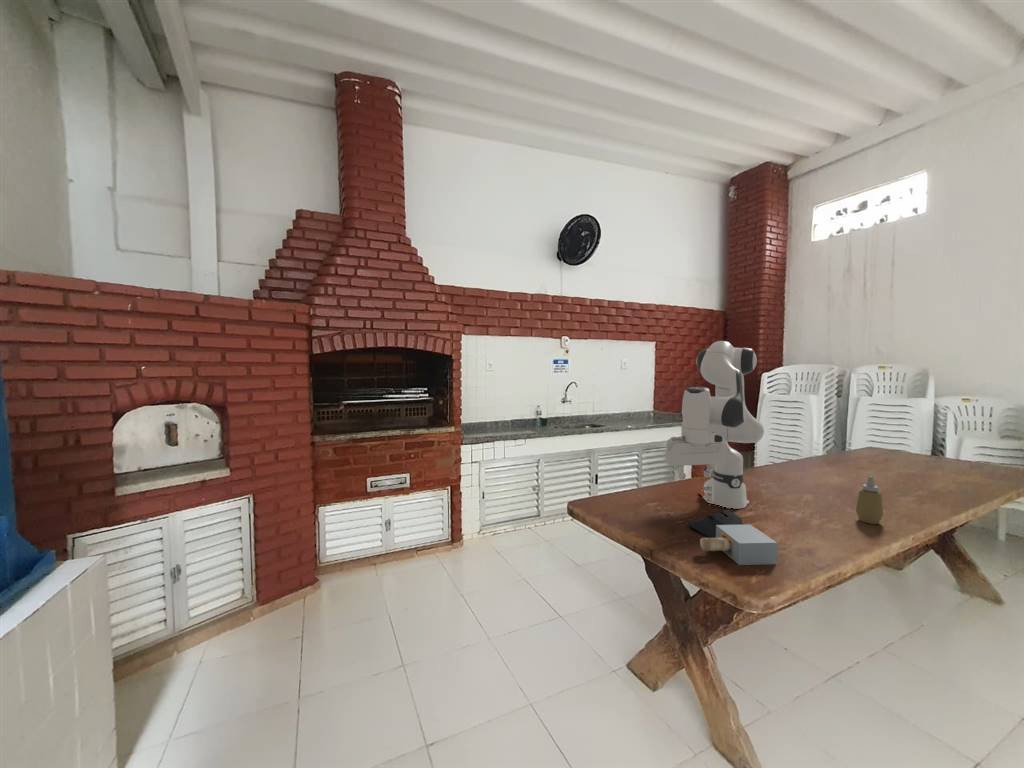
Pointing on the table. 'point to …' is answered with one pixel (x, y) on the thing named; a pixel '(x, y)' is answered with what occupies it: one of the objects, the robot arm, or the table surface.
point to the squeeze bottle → (869, 503)
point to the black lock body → (714, 522)
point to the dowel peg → (715, 544)
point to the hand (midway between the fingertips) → (694, 477)
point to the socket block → (748, 544)
